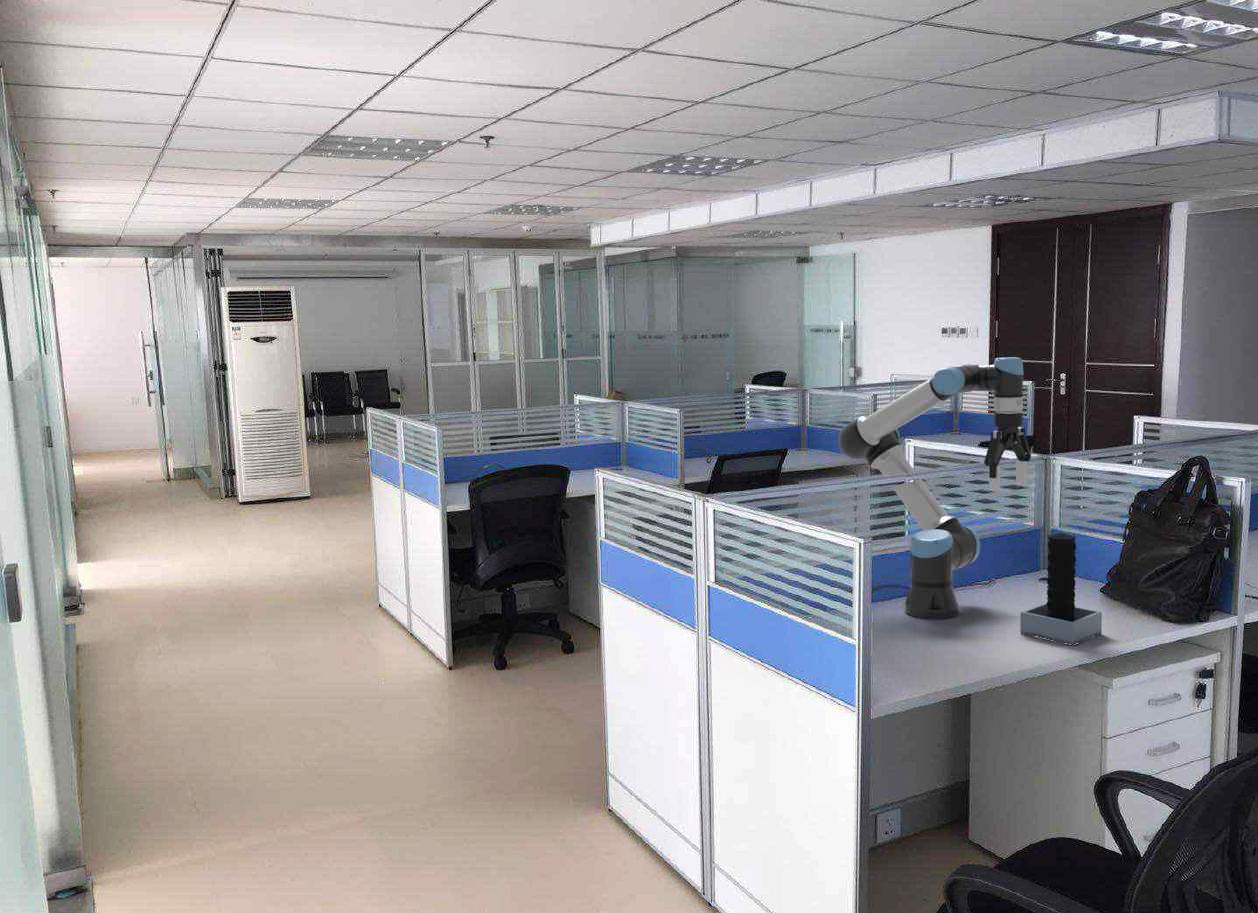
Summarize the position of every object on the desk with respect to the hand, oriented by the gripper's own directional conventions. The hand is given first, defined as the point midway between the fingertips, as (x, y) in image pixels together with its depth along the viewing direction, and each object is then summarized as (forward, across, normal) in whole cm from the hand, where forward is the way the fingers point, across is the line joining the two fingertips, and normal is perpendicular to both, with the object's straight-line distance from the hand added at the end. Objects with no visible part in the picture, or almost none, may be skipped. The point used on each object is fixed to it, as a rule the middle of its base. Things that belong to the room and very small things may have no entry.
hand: (1007, 486), depth 276 cm
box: (+37, -9, -21) cm, 43 cm away
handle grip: (+36, -9, -21) cm, 43 cm away
